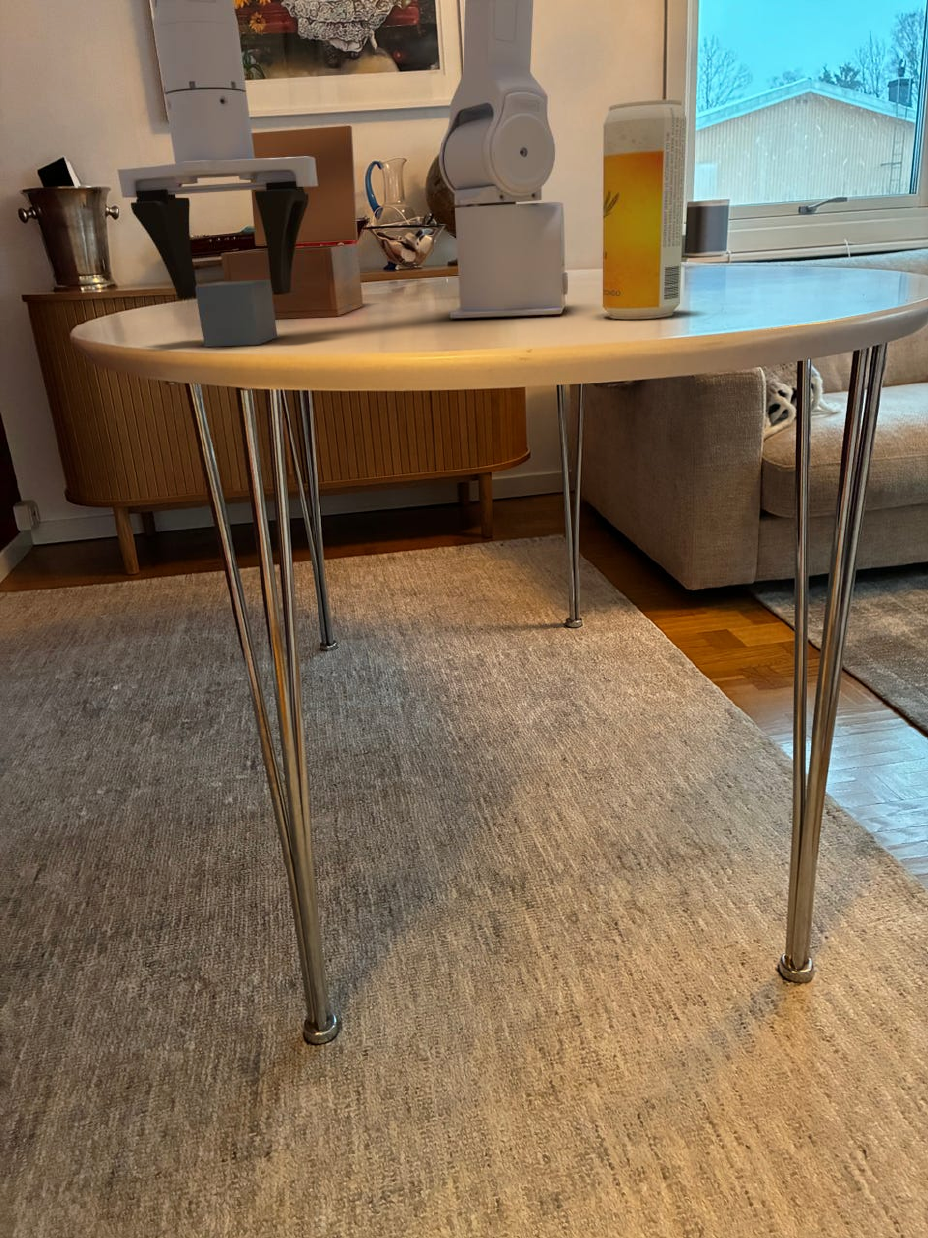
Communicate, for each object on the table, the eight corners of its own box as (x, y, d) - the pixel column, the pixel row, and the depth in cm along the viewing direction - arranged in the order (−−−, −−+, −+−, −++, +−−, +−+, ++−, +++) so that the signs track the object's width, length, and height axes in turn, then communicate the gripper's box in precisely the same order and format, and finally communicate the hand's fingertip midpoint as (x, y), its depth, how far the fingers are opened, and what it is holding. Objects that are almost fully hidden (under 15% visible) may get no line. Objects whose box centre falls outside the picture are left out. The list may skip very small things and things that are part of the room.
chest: (337, 316, 88) (330, 247, 86) (230, 320, 90) (220, 253, 87) (363, 306, 97) (357, 243, 95) (264, 310, 99) (256, 248, 96)
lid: (350, 124, 92) (352, 126, 92) (246, 132, 93) (248, 134, 94) (356, 239, 94) (357, 240, 95) (255, 244, 96) (257, 245, 96)
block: (277, 337, 74) (270, 279, 73) (258, 344, 70) (250, 283, 69) (225, 339, 75) (217, 281, 73) (204, 346, 71) (194, 286, 69)
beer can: (626, 310, 79) (629, 110, 73) (692, 312, 75) (701, 101, 69) (588, 319, 74) (588, 106, 68) (656, 320, 71) (662, 96, 65)
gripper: (82, 95, 63) (122, 304, 69) (285, 79, 61) (309, 296, 67) (131, 106, 70) (163, 296, 75) (316, 91, 68) (336, 288, 73)
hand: (234, 295), depth 71 cm, fingers open, 7 cm apart
